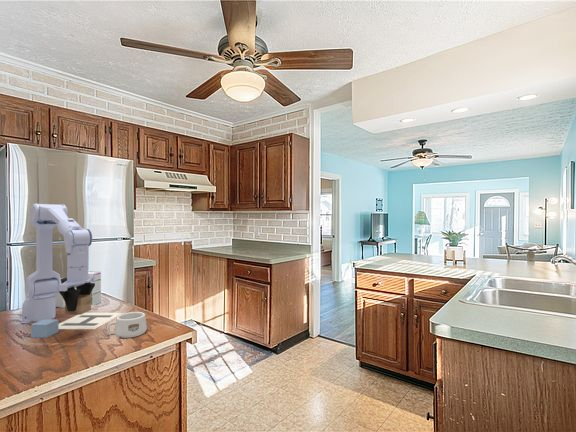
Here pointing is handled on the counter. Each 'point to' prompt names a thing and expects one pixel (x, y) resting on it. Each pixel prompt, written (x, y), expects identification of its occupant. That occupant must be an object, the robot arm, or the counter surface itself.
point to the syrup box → (96, 287)
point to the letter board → (87, 321)
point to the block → (80, 305)
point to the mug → (129, 325)
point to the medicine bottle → (60, 296)
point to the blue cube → (44, 328)
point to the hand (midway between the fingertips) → (77, 308)
